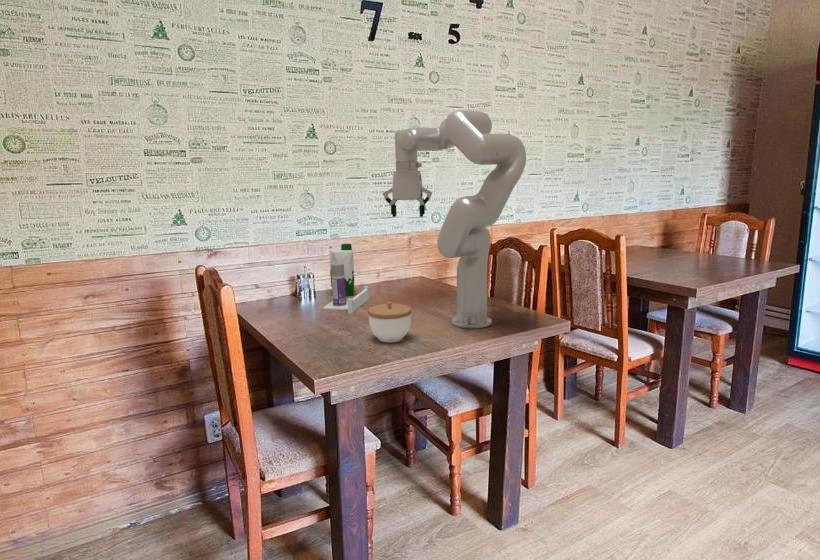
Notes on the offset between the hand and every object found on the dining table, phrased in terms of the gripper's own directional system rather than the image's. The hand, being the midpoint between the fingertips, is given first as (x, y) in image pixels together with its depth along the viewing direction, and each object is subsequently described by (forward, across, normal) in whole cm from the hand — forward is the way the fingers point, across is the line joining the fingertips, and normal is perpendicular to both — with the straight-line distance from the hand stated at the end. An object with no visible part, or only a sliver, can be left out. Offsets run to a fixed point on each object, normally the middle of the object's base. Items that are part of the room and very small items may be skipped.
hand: (407, 216), depth 193 cm
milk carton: (+32, +30, -14) cm, 46 cm away
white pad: (+32, +26, +4) cm, 41 cm away
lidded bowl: (+32, -2, +39) cm, 51 cm away
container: (+32, +25, +5) cm, 41 cm away
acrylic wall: (+32, +18, +2) cm, 37 cm away
